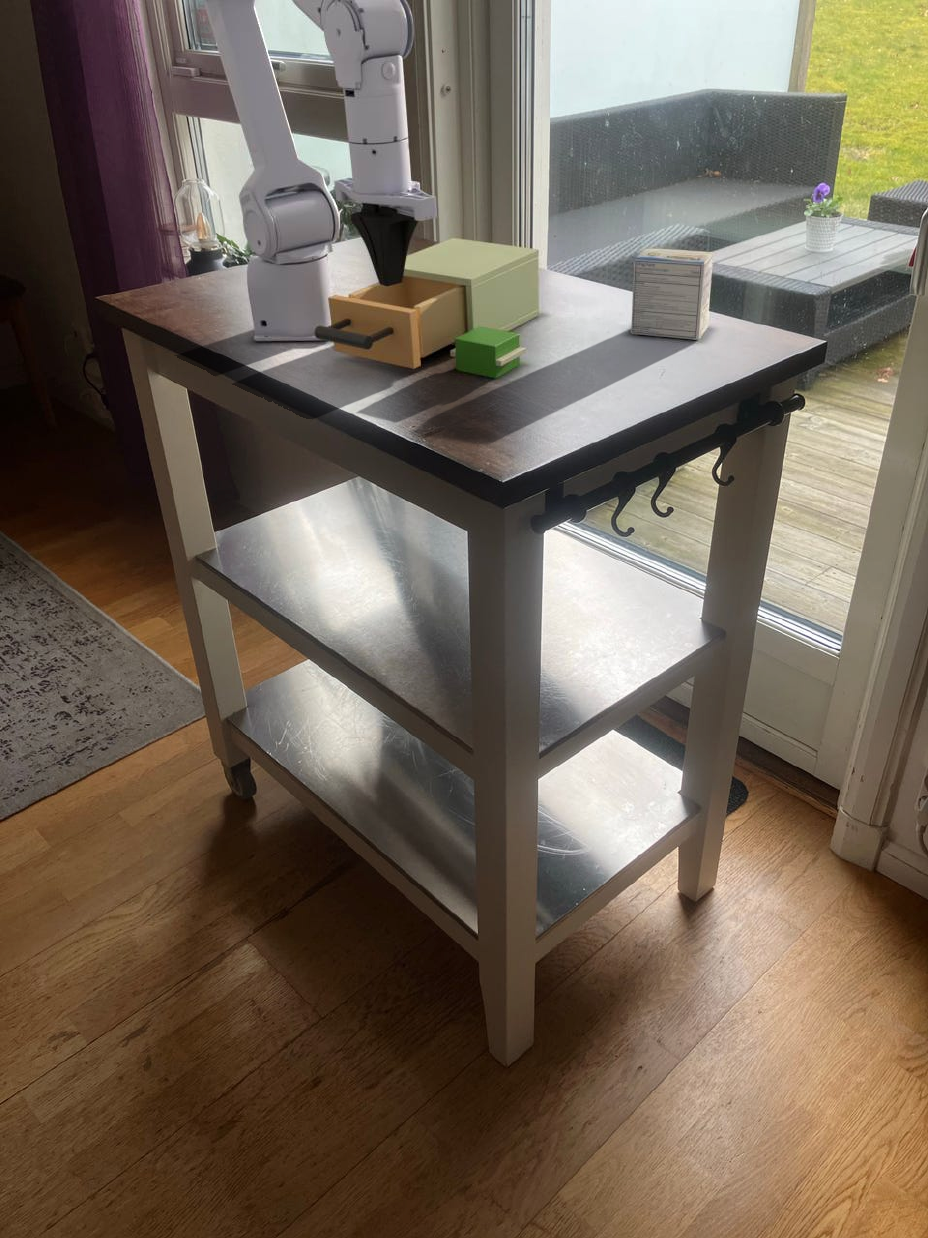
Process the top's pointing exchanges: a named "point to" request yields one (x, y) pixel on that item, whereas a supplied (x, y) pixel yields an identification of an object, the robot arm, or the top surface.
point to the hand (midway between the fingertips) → (391, 283)
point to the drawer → (397, 320)
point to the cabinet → (484, 279)
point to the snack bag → (487, 352)
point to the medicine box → (671, 293)
